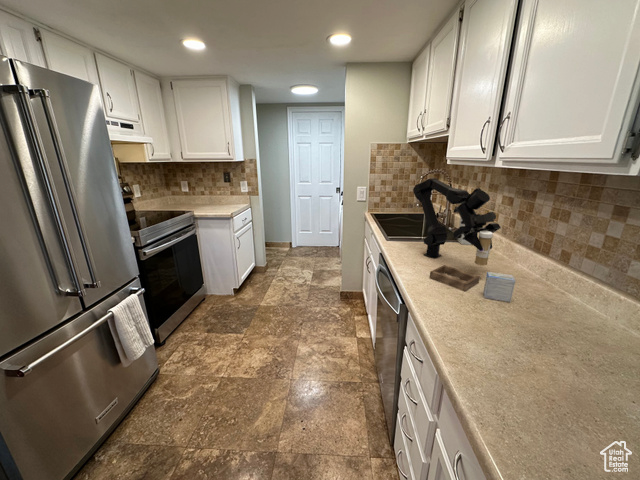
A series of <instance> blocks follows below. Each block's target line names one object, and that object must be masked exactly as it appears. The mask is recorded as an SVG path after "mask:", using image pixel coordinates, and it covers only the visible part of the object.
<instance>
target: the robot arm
mask: <svg viewBox="0 0 640 480" xmlns="http://www.w3.org/2000/svg"><path fill="white" fill-rule="evenodd" d="M433 191H436V192H437V193H439V194H441V195H443V196H444V197H445V198H446V199H445V200H447V201H448V202H449V203H450V204H451V205H457V206H454V209H453V212H452V213H453V214H457V213H458V215H459V217H461V219H462V221H461V224H464V225H465V226H461V227H458V228H457V229H456V230H454V231H453V233H452V236H453V238H454V239H456V240H458V238H461V237H462V235H461V234H464V238H462V239H463V240H466V241H468V242H469V243H471V244H472V246H474V247H475V248H476V249H477V248H478V249H479V250H480V251H481V250H483V248H482V245H481V243H480V241H479V232H480V231H490V232H492V233H493V234H494V233H496V232H498V230H500V229H501V228H502V227H501V226H500V224H499V223H498V222H495V220H496V219H497V215H496V213H495V212H494V211H489V212H486V213H483V214H480V213H477V212H476V210H479V209H481V208H482V207H483V206H484V205H486V204H487V203H488V202H489V201H490V199H491V198H490V194H489V193H487V192H486V191H484V190H482V189H481V188H480V187H477V188H475V189H473V191H472V192H471V193H469V191H467V190H465V189H462V188H454V187H453V186H451V185H449V184H447V183H444V182H443V181H441V180H439V179H438V178H436V177H435V178H428V179H426V180H424V181H422V182H420V183H418V184H415V185H414V187H413V189H412V193H413V194H414V197H415V199H417V200H418V201H419V202H420V204H421V207H422V210H423V214H424V216H425V220H426V223H427V226H428V228H427V232H426V234H427V236H426V237H425V238H423V244H424V245H426V247H427V248H426V253H425V252H424V253H423V256H425V257H428V258H433V259H438V258H440V257H442V254H441V253H440V248H441V246H442V245H445V244H446V241H447V239H448V232H447V229H446V226H445V225H441V224H440V222H439V219H438V217H437V216H438V215H437V214H436V211H435V208H434V205H433V202H432V199H431V197H432V195H433ZM490 222H492V223H490ZM487 223H488V224H487ZM492 240H493V239H491V245H490V250H492V249H493V241H492Z"/></svg>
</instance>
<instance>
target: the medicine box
mask: <svg viewBox="0 0 640 480" xmlns="http://www.w3.org/2000/svg"><path fill="white" fill-rule="evenodd" d="M515 284H516V279H515V277H514V275H513V274H512V275H511V274H505V273H499V272H492V271H486V277H485V282H484V286H483V293H482V294H483V297H484V299H489V300H494V301H495V300H496V301H501V302H507V303H511V301H512V298H513V293H514V289H515V286H516V285H515Z"/></svg>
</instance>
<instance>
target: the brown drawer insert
mask: <svg viewBox="0 0 640 480" xmlns="http://www.w3.org/2000/svg"><path fill="white" fill-rule="evenodd" d="M480 278H481V276H480V275H477V274H474V273H471V272H468V271H465V270H461V269H458V268H455V267H452V266H448V265H445V264H444V265H443V264H442V265H441V266H439V267H437V268H435V269H432V270H431V271H429V279H431V280H433V281H436V282H438V283H441V284H445V285H447V286H450V287H452V288H455V289H458V290H460V291H464V292H467V291H469V290H470V289H471V288H474V287H475V286H477V285H478V284H479V283H480Z"/></svg>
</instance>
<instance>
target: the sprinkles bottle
mask: <svg viewBox="0 0 640 480" xmlns="http://www.w3.org/2000/svg"><path fill="white" fill-rule="evenodd" d="M493 236H494V233H492V232H490V231H480V232H479V233H478V239H479V241H480V243H481V245H482V248H483V250H481V251H480V250H479V249H478V248H476V252H475V259H474V264H475V265H479V266H486V265H488V260H489V255H490V251H491V249H490V245H491V240H493V239H492V238H493Z"/></svg>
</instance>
